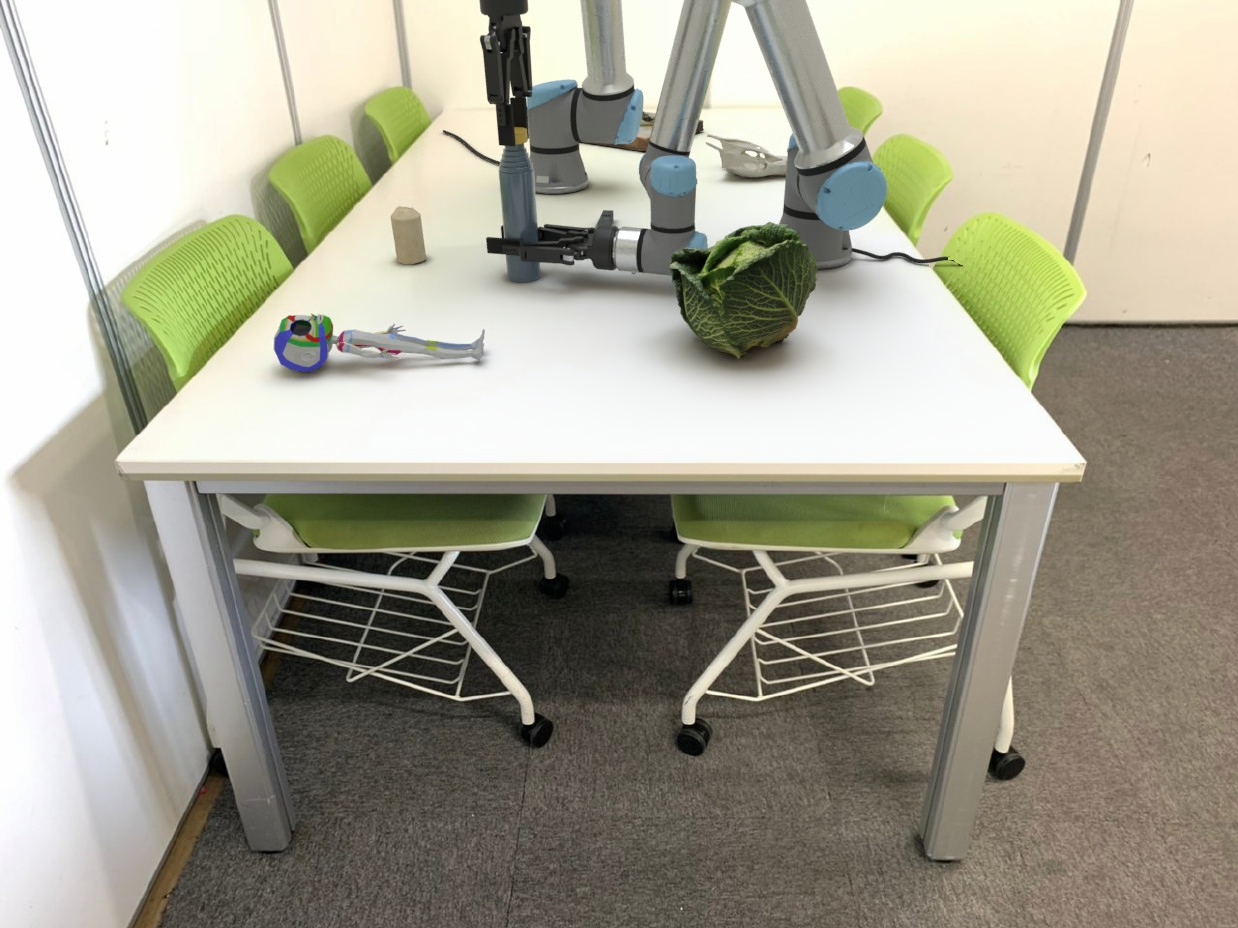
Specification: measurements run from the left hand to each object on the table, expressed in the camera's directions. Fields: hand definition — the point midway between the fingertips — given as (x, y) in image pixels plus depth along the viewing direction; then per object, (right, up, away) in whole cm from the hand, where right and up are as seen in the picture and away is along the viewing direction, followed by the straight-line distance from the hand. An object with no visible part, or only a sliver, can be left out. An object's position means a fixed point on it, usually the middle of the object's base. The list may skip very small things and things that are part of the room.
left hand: (514, 141), depth 151 cm
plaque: (+22, +40, +108) cm, 117 cm away
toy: (-17, -39, -17) cm, 46 cm away
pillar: (+14, -8, +31) cm, 35 cm away
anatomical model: (+51, +17, +69) cm, 88 cm away
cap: (0, +1, -1) cm, 2 cm away
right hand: (-5, -14, +10) cm, 18 cm away
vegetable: (+36, -36, -14) cm, 53 cm away
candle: (-22, -15, +21) cm, 34 cm away
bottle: (0, -20, +13) cm, 24 cm away
